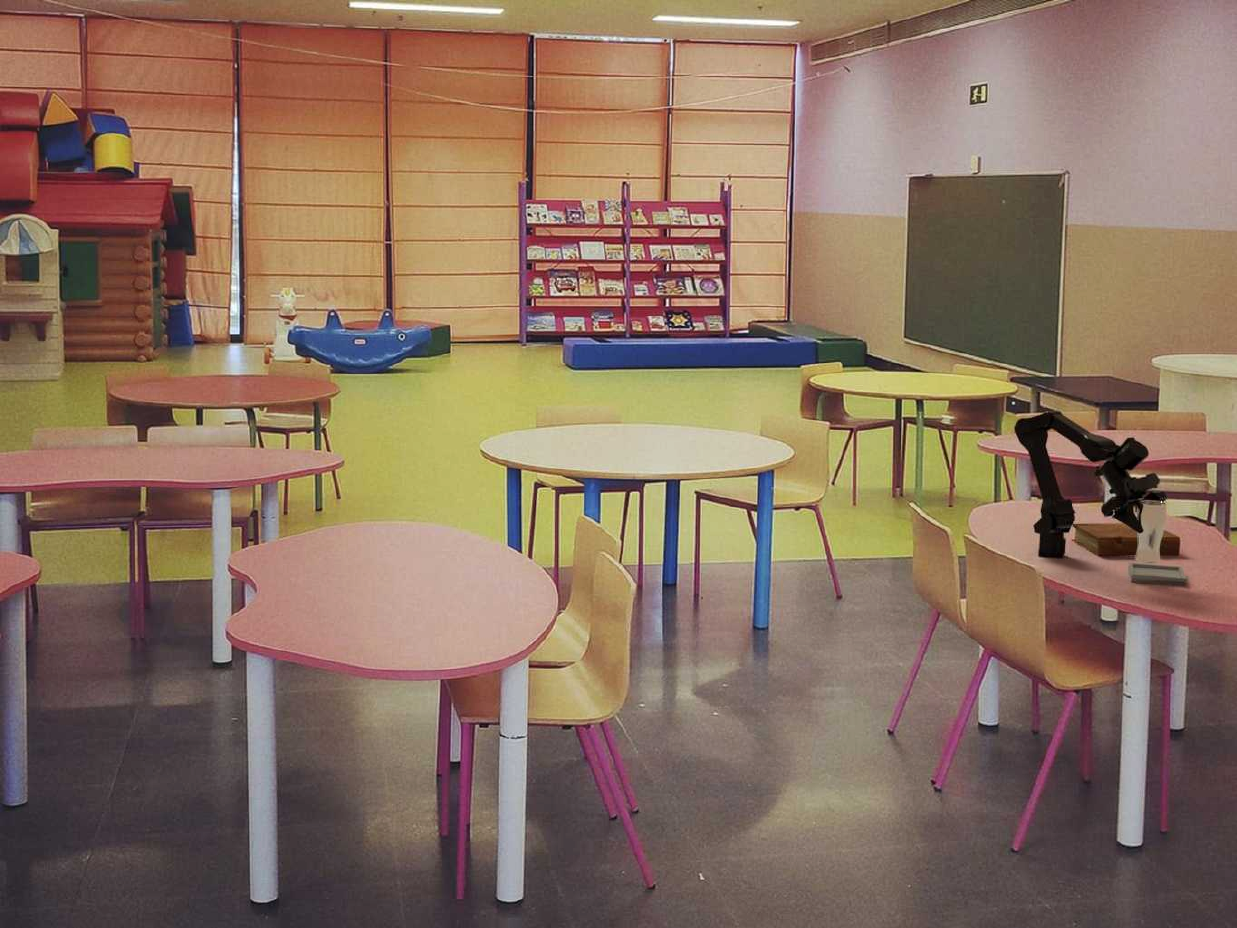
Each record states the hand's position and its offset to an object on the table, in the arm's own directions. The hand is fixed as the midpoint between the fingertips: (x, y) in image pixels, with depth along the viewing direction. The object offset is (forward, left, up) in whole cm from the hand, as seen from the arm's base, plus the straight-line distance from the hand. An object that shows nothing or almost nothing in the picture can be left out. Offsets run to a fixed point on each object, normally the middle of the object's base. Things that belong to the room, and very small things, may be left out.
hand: (1151, 531), depth 352 cm
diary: (-3, +38, -14) cm, 40 cm away
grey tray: (+3, +5, -13) cm, 14 cm away
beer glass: (0, 0, -8) cm, 8 cm away
